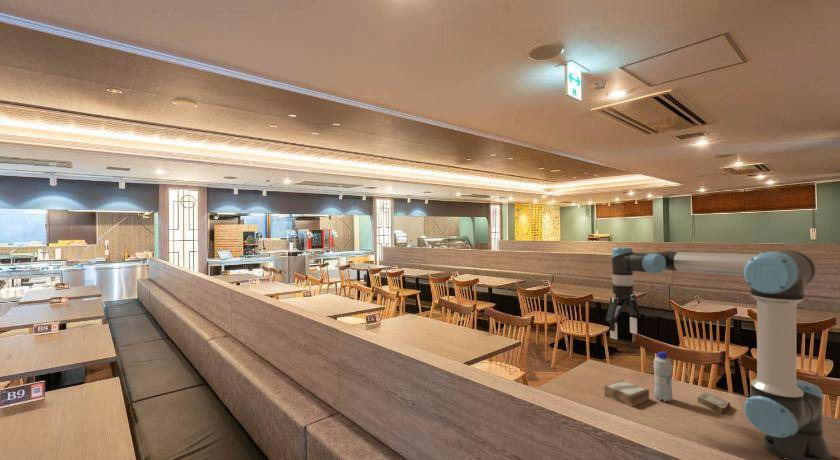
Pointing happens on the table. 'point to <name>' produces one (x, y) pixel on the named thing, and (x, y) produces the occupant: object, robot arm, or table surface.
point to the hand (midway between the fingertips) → (623, 335)
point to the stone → (714, 403)
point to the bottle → (663, 377)
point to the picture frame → (627, 393)
